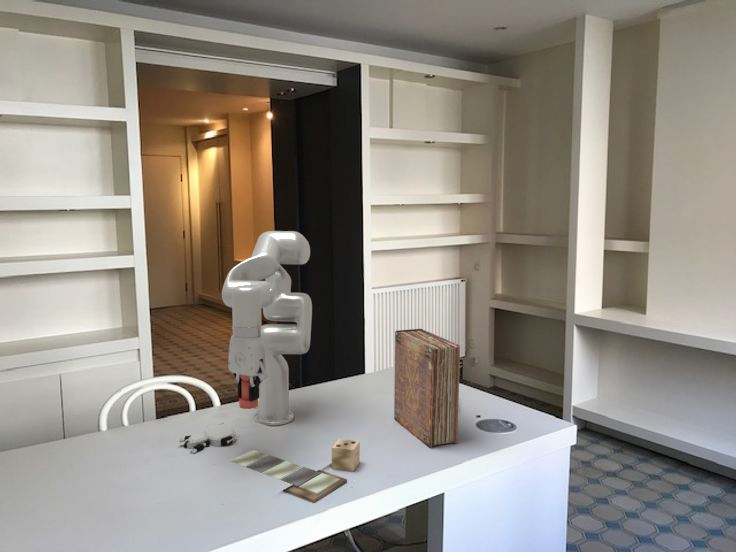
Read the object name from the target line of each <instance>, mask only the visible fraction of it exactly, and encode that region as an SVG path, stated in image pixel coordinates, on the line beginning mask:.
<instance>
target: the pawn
mask: <svg viewBox="0 0 736 552" xmlns="http://www.w3.org/2000/svg"><path fill="white" fill-rule="evenodd" d="M240 377H241V379H242V381H241V387H242V398H238V404H239V405H238V407H239V408H240V409H244V410H251V409H253V408H255V407H257V406H258V401H259V399H256V400H254V401H249V387H250V386H251V385H250V377H249V376H245V375H241V374H240ZM254 379H256V377H254Z"/></svg>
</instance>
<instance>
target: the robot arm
mask: <svg viewBox="0 0 736 552" xmlns="http://www.w3.org/2000/svg"><path fill="white" fill-rule="evenodd" d="M251 254H252V255H251V256H250V257H249V258H247V259H245V260H243V261H241V262H240V263H238V264H237V265H235V266H233V268H231V269H230V270H229V272H228V273H227V275H226V278H225V280H224V282H223V286H222V289H221V299H222V302H223V304H224V305H225V306H227V307H229V308H231V309H232V310H231V313H232V326H231V329H232V335H231V336H230V339H229V347H228V370H229V371H230V372H231V373H232V374H233V376H234V378H235V383H236V384H237V398H238V399H239V398H242V387H241V381H242V379H241V377H240V374H241V375H245V376H249V377H250V385H251V386H250V387H249V401H254V400H256V399H258V406H257V407H255V408H252V409H253V410H257V413H256V414H255V415H254V422H256V423H258V424H261V425H263V426H264V425H265V426H283V425H285V424H288V423H291V422H292V421H293V420H294V413H293V412H292V411H290V403H289V402H290V400H289V399H290V398H289V397H290V396H289V395H290V394H289V390H290V389H289V388H290V387H289V386H290V385H289V384H290V382H289V381H290V380H289V376H290V374H289V371H290V370H289V365H288V362H287V360H286V359H285V357H284V356H283V355H305V354H306V353H307V352H308V351H309V350H310V346H311V338H312V337H311V335H312V334H311V332H312V319H313V318H312V317H313V304H312V299H311V297H310V295H309V294H307V293H304V292H291V290H292V289H291V288H292V279H291V276H290V274H289V273H288V272H287V270H286V269H284V268H283V266H282V265H305V264H306V263H308V261H309V260H310V256H311V246H310V244H309V241H308V240H307V239H306V237H305V236H304V235H303V234H301V233H300V232H298V231H294V230H288V231H287V230H286V231H284V230H269V231H268V230H267V231H264V232H262V233H261V234H260V235H259V236H258V238H257V241H256V243H255V245H254V249H253V251H252V253H251ZM262 311H263V312H262ZM262 313H263V317H264V318H265V319H266V320H269V321H272V322H294V323H296V324H288V323H287V324H286V323H267V324H263V325H262ZM254 377H255V378H254Z"/></svg>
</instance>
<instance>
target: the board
mask: <svg viewBox="0 0 736 552" xmlns="http://www.w3.org/2000/svg"><path fill="white" fill-rule="evenodd" d="M229 462H231V463H234V464H237V465H239V466H242V467H246V468H247V469H251V470H252V471H256V472H258V473H261V474H264V475H266V476H269V477H271V478H274V479H277V480H280V481H283V482H286V483H288V484H290V486H288V487H286V488H284V489H282V490H281V491H282V492H284V493H287V494H289V495H292V496H295V497H297V498H299V499H303V500H305V501H308V502H310V503H312V504H313V503H316V502H318V501H319V500H321V499H322V498H324V497H326V496H327V495H329V494H331V493H333V491H335V490H336V489H338V488H340V487H341V486H343V485H344V484H346V483H348V479H347V478H344V477H342V476H338V475H336V474H333V473H330V472H326V471H324V470H321V469H317V470H315V469H311V468H309V467H305V466H302V465H300V464H297V463H293V462H291V461H287V460H285V459H282V458H280V457H276V456H273V455H270V454H267V453H264V452H262V451H259V450H255V449H252V450H250V451H248V452H246V453H244V454H242V455H241V454H240V455H239V456H236V457H235V458H233V459H231V460H229Z"/></svg>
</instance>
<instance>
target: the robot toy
mask: <svg viewBox="0 0 736 552" xmlns="http://www.w3.org/2000/svg"><path fill="white" fill-rule="evenodd" d="M236 433H237V432H236V430H235V429H234V428H233V427H232V426H230V425H227V424H225V423H224V422H221V423H220V424H215V425H212V426H208V427H207V428H206V429H205V430H204V433H202V432H200V433H195V434H192V435H191V434H190V435H185V436H184V437H181V438H179V439H178V442H179V443H184V444H183V449H190V450H189V453H191V454H196V453H199V452H202V451H203V450H204V448H205V447H208V446H213V447H224V446H228V445H230V444H234V443H235V442H236V440H237V438H239V437H240V436H241V435H240V434H238V435H237V434H236Z"/></svg>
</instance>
